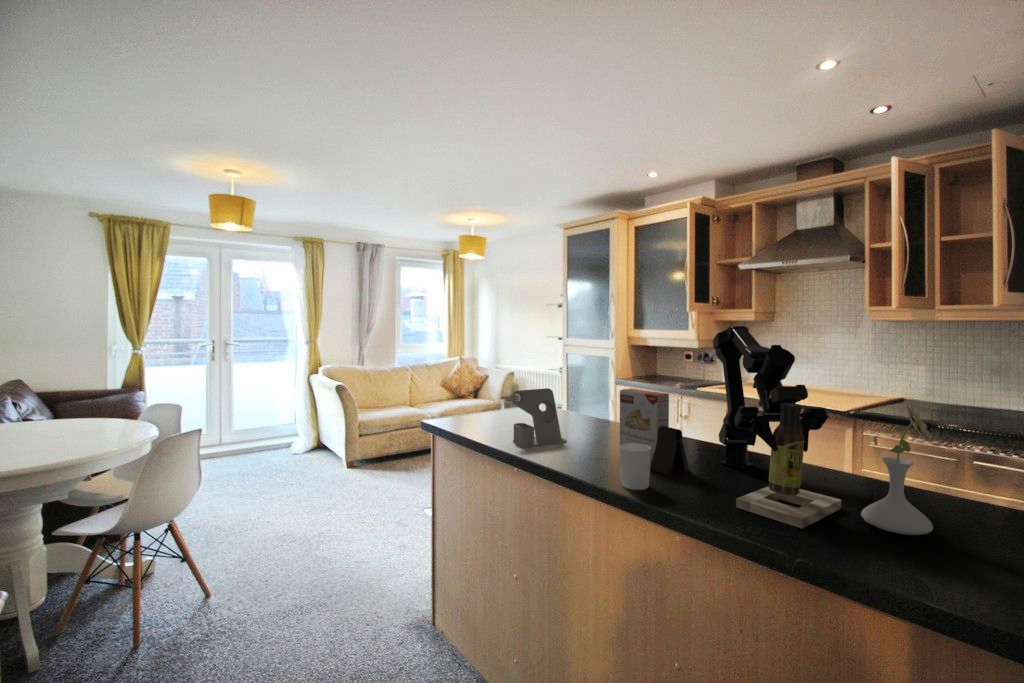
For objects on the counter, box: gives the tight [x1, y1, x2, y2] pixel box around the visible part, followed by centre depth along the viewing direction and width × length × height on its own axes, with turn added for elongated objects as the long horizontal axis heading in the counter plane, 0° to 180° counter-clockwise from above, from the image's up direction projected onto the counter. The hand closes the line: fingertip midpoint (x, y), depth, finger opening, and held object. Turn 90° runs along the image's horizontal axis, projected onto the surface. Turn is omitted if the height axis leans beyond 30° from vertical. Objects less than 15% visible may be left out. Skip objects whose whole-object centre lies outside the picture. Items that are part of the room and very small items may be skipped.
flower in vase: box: [860, 403, 934, 536], centre depth 98 cm, size 13×11×25 cm
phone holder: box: [510, 388, 567, 449], centre depth 170 cm, size 17×10×18 cm, turn 117°
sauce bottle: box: [768, 402, 804, 495], centre depth 109 cm, size 6×6×20 cm
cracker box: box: [619, 388, 670, 466], centre depth 147 cm, size 14×6×21 cm, turn 37°
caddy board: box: [735, 485, 842, 529], centre depth 109 cm, size 18×14×2 cm
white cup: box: [618, 443, 651, 491], centre depth 124 cm, size 8×8×10 cm
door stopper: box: [650, 426, 690, 476], centre depth 137 cm, size 9×6×12 cm, turn 120°
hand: (790, 450), depth 108 cm, fingers closed on sauce bottle, 6 cm apart
